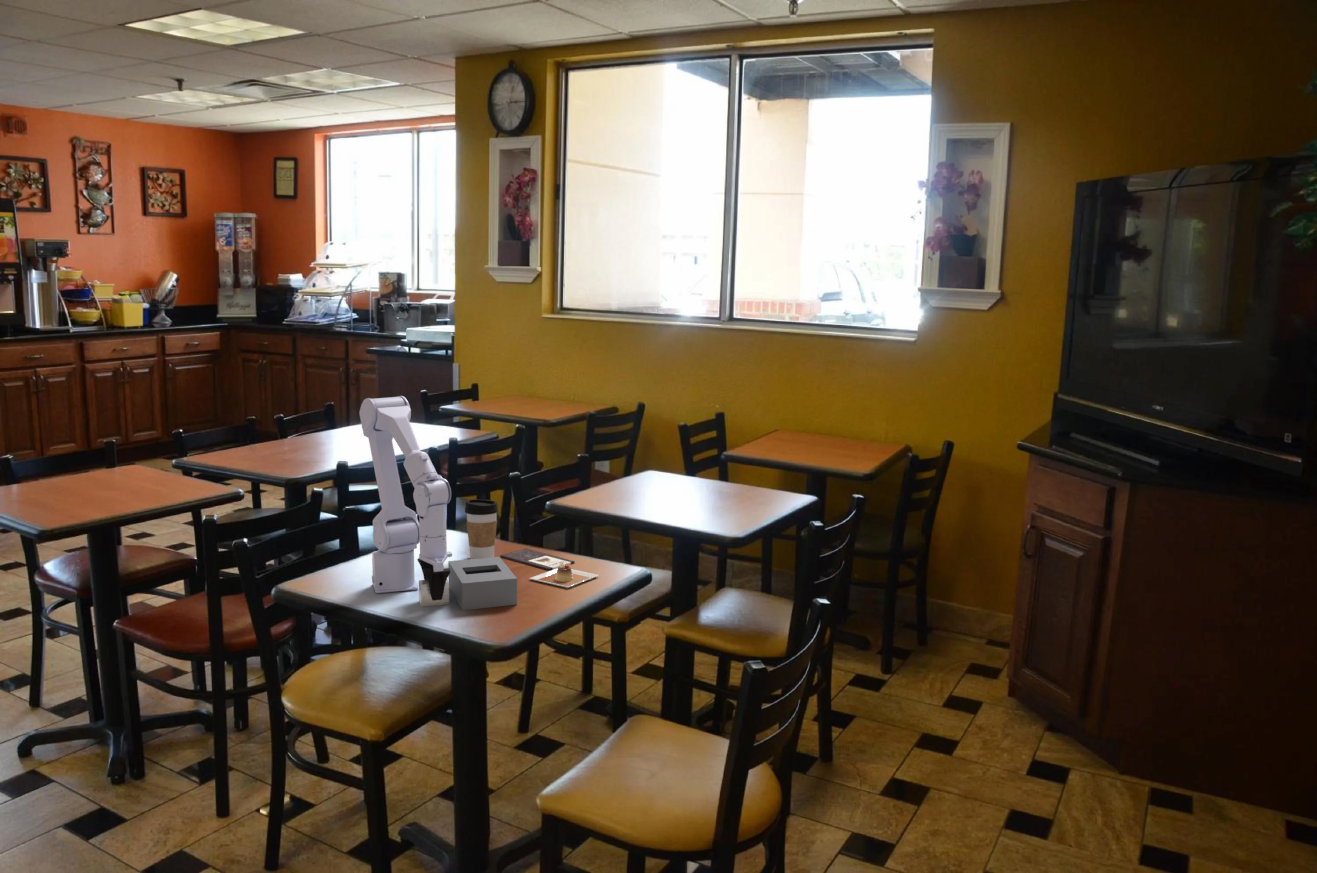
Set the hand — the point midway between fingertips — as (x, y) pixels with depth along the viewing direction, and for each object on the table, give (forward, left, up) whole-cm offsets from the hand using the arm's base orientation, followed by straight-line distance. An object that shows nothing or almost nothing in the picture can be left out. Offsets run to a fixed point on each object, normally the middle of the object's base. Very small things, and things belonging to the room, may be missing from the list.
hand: (434, 594), depth 217 cm
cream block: (0, 0, -2) cm, 2 cm away
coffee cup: (+17, +32, -2) cm, 36 cm away
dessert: (+32, +8, -3) cm, 33 cm away
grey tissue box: (+11, +2, -2) cm, 11 cm away
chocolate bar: (+30, +26, -3) cm, 40 cm away
